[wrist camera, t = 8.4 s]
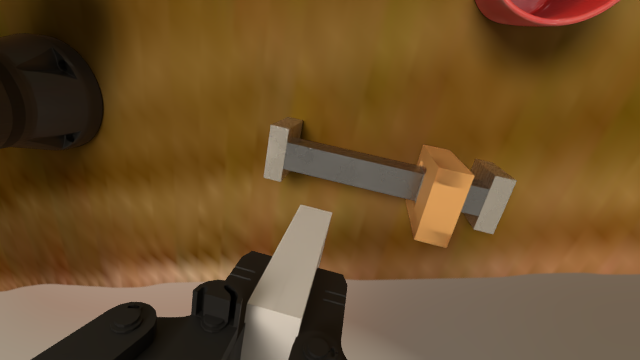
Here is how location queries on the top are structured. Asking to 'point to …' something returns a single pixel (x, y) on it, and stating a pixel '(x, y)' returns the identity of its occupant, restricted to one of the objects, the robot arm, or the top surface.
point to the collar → (439, 196)
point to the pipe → (381, 173)
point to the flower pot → (542, 11)
